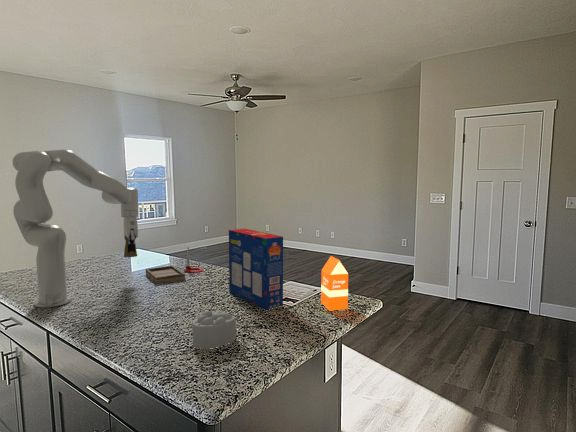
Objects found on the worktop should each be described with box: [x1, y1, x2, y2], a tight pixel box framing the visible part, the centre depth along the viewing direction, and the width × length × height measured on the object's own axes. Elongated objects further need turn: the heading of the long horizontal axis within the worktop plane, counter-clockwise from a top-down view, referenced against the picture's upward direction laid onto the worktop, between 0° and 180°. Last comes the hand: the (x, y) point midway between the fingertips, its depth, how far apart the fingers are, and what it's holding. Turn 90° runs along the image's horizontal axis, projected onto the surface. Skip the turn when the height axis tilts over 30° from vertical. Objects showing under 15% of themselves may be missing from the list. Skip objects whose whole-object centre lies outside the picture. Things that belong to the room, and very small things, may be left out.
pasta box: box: [228, 228, 284, 311], centre depth 152 cm, size 28×8×28 cm, turn 39°
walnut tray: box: [145, 265, 186, 285], centre depth 186 cm, size 20×14×3 cm
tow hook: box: [183, 247, 204, 274], centre depth 199 cm, size 8×13×9 cm
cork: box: [123, 234, 138, 258], centre depth 177 cm, size 6×6×11 cm
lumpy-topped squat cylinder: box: [191, 309, 237, 349], centre depth 113 cm, size 10×13×9 cm
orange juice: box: [320, 255, 349, 311], centre depth 143 cm, size 8×9×20 cm
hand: (130, 251), depth 177 cm, fingers closed on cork, 4 cm apart
